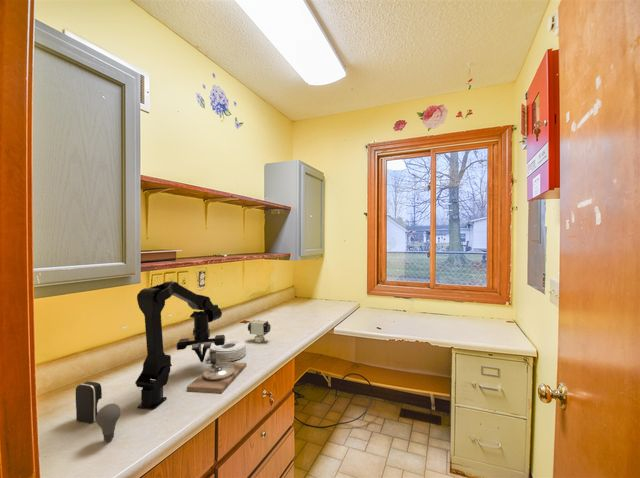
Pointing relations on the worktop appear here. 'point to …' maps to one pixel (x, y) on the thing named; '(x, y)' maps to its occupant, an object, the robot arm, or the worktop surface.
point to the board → (218, 385)
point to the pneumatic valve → (259, 329)
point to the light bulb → (108, 420)
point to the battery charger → (87, 401)
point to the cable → (228, 351)
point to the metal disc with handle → (217, 369)
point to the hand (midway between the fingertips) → (202, 361)
